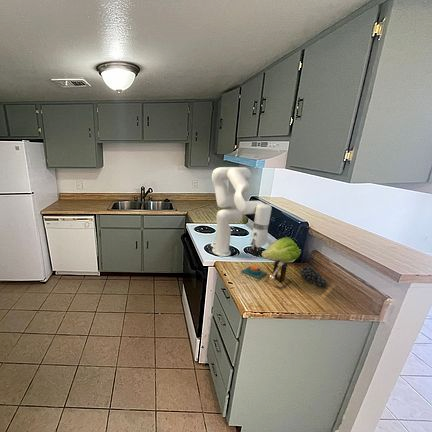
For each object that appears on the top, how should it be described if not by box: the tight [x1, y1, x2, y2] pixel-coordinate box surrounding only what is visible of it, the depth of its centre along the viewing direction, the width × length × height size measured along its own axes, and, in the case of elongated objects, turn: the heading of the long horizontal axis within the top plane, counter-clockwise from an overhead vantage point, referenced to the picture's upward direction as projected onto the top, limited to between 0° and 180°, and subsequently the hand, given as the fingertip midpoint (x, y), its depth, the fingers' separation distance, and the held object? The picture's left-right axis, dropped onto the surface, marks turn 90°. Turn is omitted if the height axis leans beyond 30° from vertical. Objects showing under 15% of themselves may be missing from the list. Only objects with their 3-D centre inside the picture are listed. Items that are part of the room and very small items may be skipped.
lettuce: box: [261, 236, 302, 263], centre depth 160 cm, size 15×25×16 cm
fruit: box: [299, 265, 329, 289], centre depth 132 cm, size 9×8×15 cm
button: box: [250, 264, 259, 271], centre depth 140 cm, size 4×4×2 cm
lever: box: [268, 262, 285, 282], centre depth 130 cm, size 13×3×3 cm, turn 128°
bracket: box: [272, 260, 289, 284], centre depth 133 cm, size 12×9×12 cm
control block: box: [240, 265, 267, 280], centre depth 141 cm, size 10×10×4 cm
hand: (255, 256), depth 138 cm, fingers closed
